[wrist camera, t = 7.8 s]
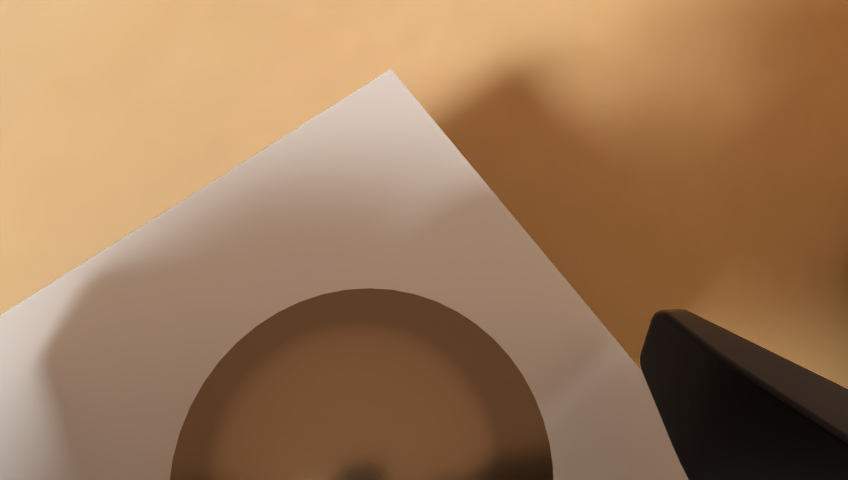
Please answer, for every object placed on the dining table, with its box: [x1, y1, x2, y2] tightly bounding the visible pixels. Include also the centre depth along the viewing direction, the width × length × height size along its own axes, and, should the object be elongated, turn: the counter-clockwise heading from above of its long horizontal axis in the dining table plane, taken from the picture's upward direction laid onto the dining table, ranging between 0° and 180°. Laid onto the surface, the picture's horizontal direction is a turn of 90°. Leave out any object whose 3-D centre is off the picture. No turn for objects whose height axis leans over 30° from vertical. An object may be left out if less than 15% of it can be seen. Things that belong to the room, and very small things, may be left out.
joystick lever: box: [170, 288, 553, 480], centre depth 10 cm, size 7×7×10 cm
